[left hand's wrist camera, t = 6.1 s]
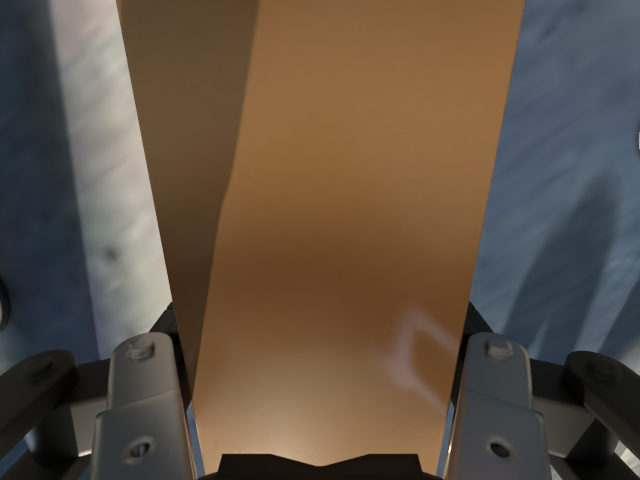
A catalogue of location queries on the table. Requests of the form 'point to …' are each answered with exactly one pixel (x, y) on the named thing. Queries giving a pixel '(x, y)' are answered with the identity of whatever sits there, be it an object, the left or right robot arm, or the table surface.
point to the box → (320, 209)
